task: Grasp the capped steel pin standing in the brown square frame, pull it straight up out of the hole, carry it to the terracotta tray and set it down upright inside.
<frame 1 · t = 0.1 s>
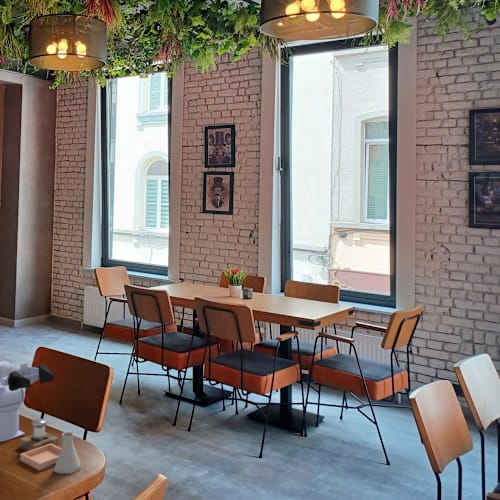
hand: (41, 380, 166), 22 cm above the table, tool horizontal, fingers open, 7 cm apart
flask: (67, 469, 157), on the table
tray: (45, 459, 162), on the table
pin: (39, 433, 171), in the brown square frame
brown square frame: (39, 446, 171), on the table
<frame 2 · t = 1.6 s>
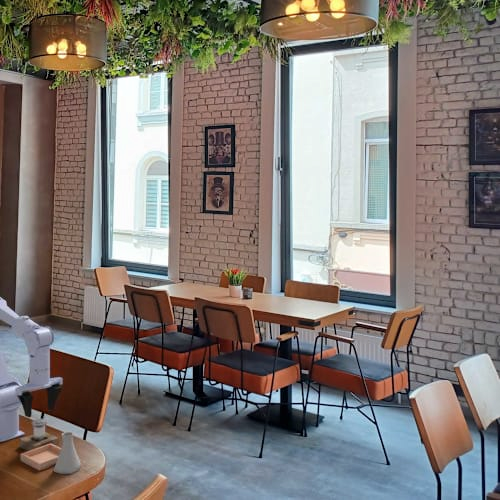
hand: (39, 412, 170), 10 cm above the table, tool pointing down, fingers open, 7 cm apart
nothing on the table moved.
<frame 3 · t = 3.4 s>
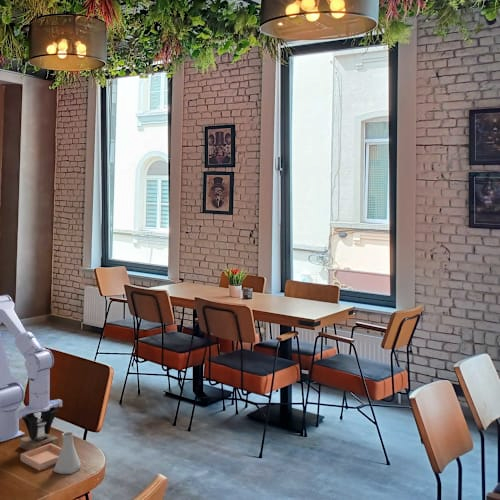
hand: (39, 435, 171), 3 cm above the table, tool pointing down, fingers closed on pin, 4 cm apart
pin: (39, 433, 171), in the brown square frame, touching gripper
everything else where it was.
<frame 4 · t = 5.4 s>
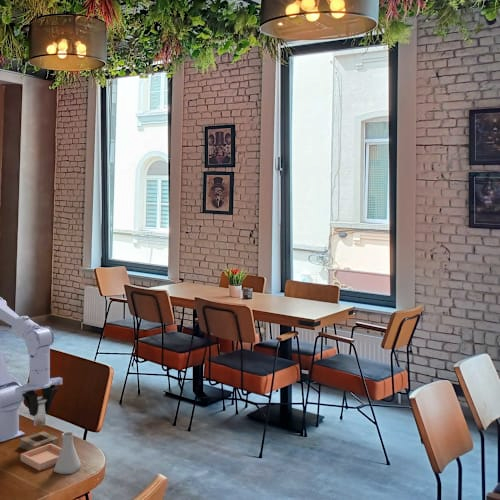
hand: (39, 412, 170), 10 cm above the table, tool pointing down, fingers closed on pin, 4 cm apart
pin: (39, 411, 170), point 11 cm above the table, touching gripper
everything else where it was.
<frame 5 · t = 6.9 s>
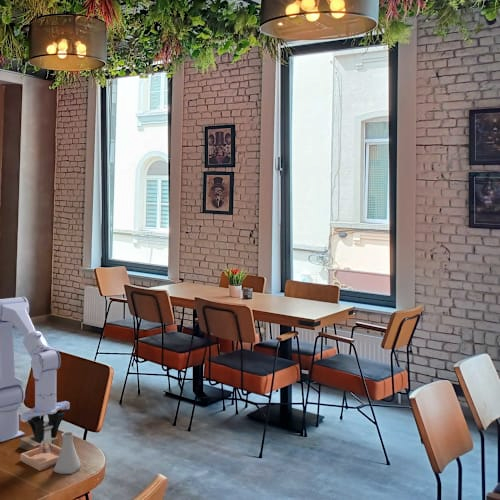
hand: (45, 439, 162), 6 cm above the table, tool pointing down, fingers closed on pin, 4 cm apart
pin: (45, 437, 162), point 6 cm above the table, touching gripper
everything else where it was.
when the fingers open (5 cm above the table, at t = 7.9 s): pin drops 1 cm, resting on tray.
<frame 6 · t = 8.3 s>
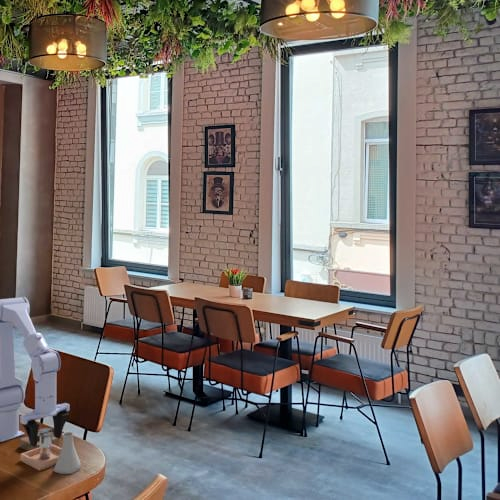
hand: (45, 441, 162), 5 cm above the table, tool pointing down, fingers open, 7 cm apart
pin: (45, 444, 162), in the tray, point 4 cm above the table
everything else where it was.
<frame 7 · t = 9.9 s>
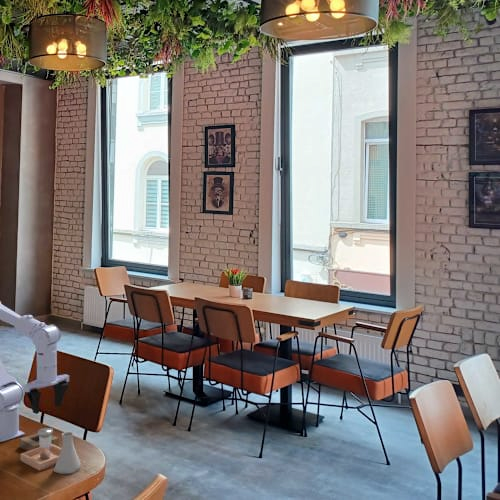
hand: (47, 409, 173), 10 cm above the table, tool pointing down, fingers open, 7 cm apart
nothing on the table moved.
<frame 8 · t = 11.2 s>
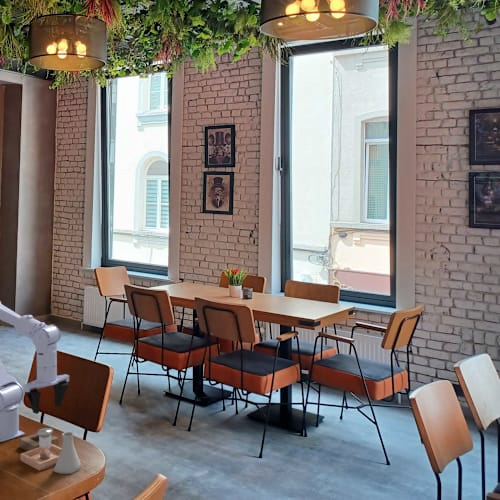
hand: (47, 409, 173), 10 cm above the table, tool pointing down, fingers open, 7 cm apart
nothing on the table moved.
at the end: pin inside the target area on the tray (0.4 cm from its centre), point 4.5 cm above the tray's base; the gripper is holding nothing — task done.
